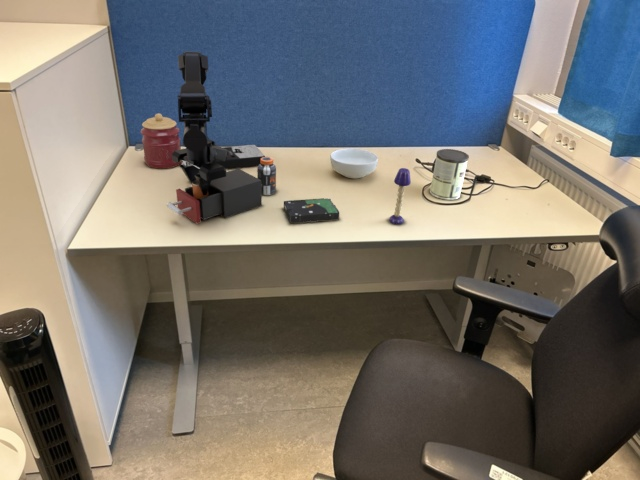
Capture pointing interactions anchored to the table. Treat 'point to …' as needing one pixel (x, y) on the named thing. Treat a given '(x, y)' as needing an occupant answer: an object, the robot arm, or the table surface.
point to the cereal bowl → (353, 162)
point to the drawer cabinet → (238, 192)
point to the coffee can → (448, 174)
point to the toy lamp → (400, 194)
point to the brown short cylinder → (197, 190)
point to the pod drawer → (198, 204)
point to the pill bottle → (267, 175)
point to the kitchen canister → (160, 141)
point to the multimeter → (241, 157)
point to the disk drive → (310, 210)
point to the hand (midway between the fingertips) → (200, 192)
